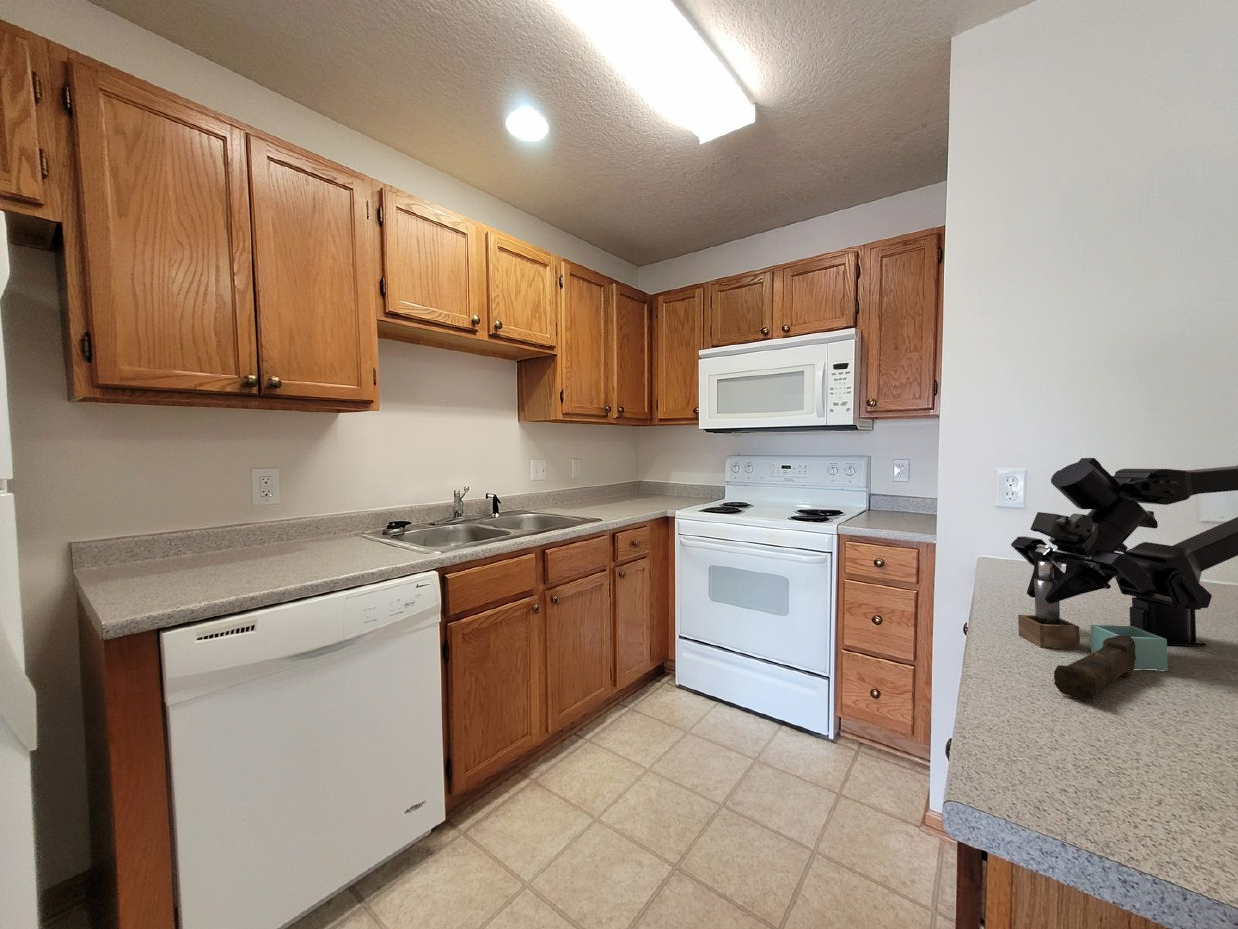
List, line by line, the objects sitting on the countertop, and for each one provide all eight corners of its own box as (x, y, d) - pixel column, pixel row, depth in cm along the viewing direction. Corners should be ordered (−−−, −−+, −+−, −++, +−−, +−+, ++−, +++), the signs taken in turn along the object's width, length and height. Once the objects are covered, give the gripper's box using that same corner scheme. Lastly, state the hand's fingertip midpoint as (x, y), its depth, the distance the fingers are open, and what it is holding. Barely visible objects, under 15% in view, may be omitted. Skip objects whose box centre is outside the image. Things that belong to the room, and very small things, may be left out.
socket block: (1055, 636, 79) (1054, 615, 79) (1080, 649, 74) (1079, 626, 74) (1018, 635, 80) (1018, 614, 80) (1040, 647, 75) (1039, 625, 75)
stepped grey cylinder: (1052, 638, 78) (1049, 560, 78) (1065, 645, 76) (1063, 564, 76) (1031, 637, 79) (1029, 560, 79) (1044, 644, 76) (1041, 564, 76)
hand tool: (1094, 706, 57) (1093, 667, 57) (1052, 692, 61) (1052, 656, 61) (1160, 673, 65) (1159, 639, 65) (1119, 662, 69) (1119, 630, 69)
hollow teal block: (1133, 656, 71) (1132, 626, 71) (1167, 671, 66) (1166, 639, 66) (1091, 654, 72) (1090, 624, 72) (1121, 669, 67) (1120, 637, 67)
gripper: (1019, 492, 87) (961, 554, 87) (1129, 499, 68) (1054, 578, 68) (1064, 533, 87) (1005, 595, 87) (1185, 552, 68) (1111, 631, 68)
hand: (1038, 598), depth 77 cm, fingers closed on stepped grey cylinder, 3 cm apart
